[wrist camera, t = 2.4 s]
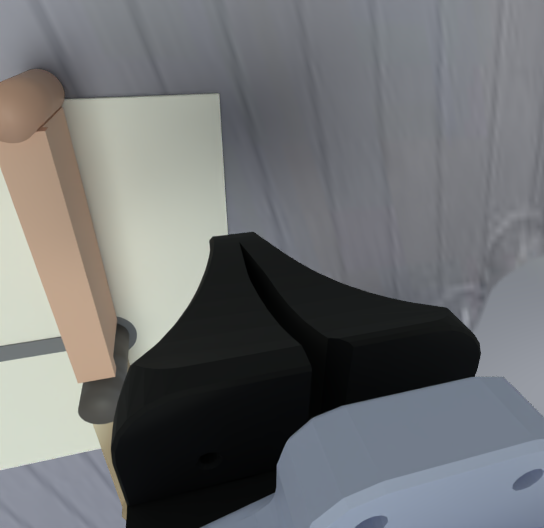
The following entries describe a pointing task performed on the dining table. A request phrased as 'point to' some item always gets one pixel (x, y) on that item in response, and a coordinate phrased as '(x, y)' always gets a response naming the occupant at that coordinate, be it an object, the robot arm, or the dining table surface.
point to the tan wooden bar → (57, 219)
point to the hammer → (107, 403)
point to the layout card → (111, 255)
